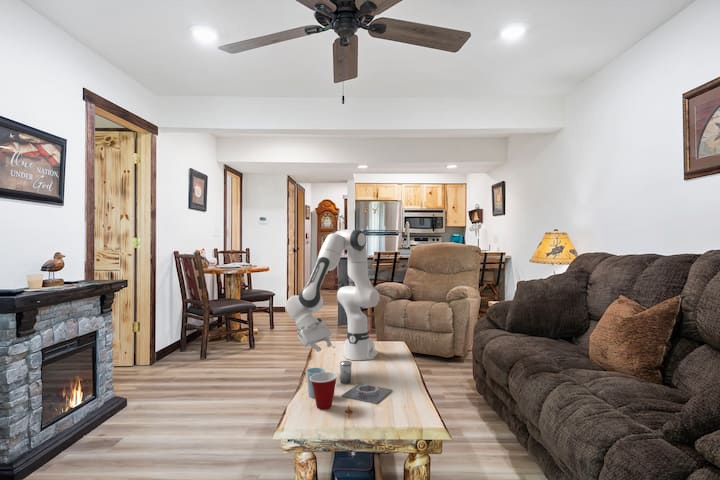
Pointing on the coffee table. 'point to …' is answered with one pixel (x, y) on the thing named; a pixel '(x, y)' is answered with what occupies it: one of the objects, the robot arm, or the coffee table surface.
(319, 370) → the cup
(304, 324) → the robot arm
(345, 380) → the metal cylinder
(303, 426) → the coffee table surface
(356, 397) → the flange
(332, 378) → the plastic cup
